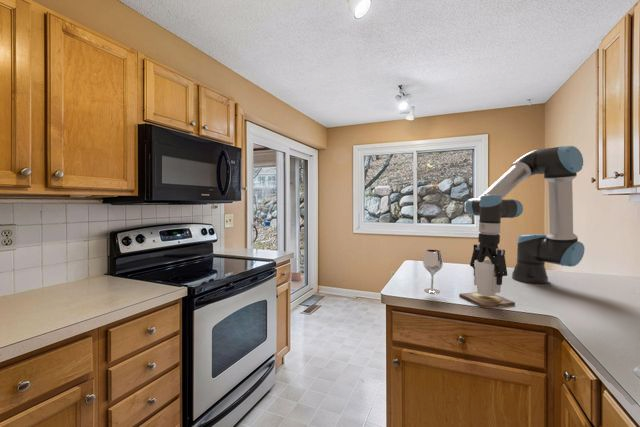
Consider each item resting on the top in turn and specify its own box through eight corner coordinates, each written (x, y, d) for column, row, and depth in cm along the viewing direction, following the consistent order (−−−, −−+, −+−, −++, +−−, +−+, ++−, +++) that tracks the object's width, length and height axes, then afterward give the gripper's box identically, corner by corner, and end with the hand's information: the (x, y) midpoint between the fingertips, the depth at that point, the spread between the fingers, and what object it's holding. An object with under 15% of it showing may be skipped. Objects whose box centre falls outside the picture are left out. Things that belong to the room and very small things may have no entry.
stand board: (486, 294, 135) (487, 290, 135) (514, 305, 122) (514, 301, 122) (459, 296, 132) (459, 292, 132) (484, 308, 118) (485, 304, 118)
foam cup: (503, 298, 121) (504, 265, 120) (477, 296, 123) (478, 263, 122) (494, 290, 130) (496, 259, 130) (470, 289, 132) (472, 258, 131)
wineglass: (421, 292, 136) (423, 251, 135) (422, 287, 144) (423, 248, 143) (442, 295, 134) (443, 253, 132) (441, 289, 141) (443, 249, 140)
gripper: (461, 230, 135) (459, 281, 136) (504, 237, 113) (501, 298, 115) (476, 229, 137) (474, 280, 138) (521, 237, 115) (517, 296, 117)
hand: (486, 288), depth 127 cm, fingers closed on foam cup, 9 cm apart
